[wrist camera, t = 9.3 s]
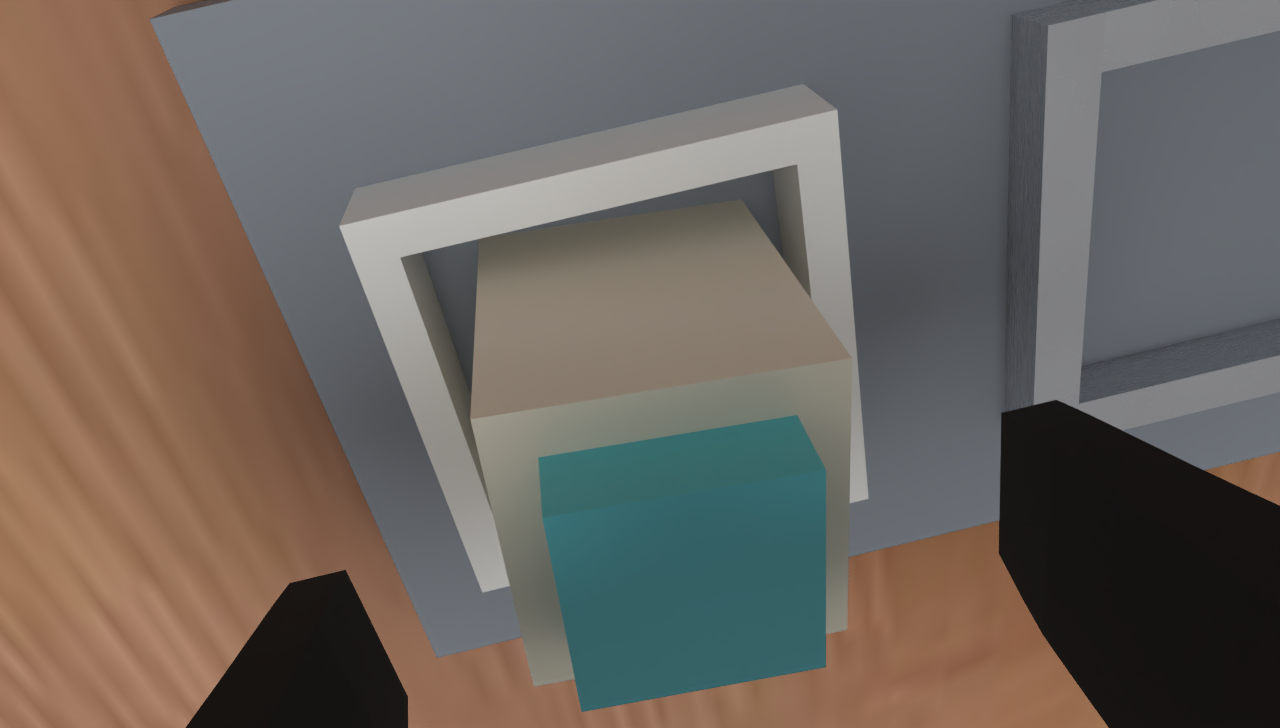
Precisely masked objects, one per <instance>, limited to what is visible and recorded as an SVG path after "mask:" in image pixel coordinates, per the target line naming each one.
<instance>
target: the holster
mask: <svg viewBox="0 0 1280 728" xmlns="http://www.w3.org/2000/svg"><path fill="white" fill-rule="evenodd" d="M1276 31H1280V0H1070V1H1065V2H1061V3H1057V4H1052V5H1048V6H1044V7H1040V8H1035V9H1031V10H1027V11H1022V12H1018V13H1014V14H1011V69H1010V124H1009V180H1008V235H1007V290H1006V346H1005V401H1004V412H1007V411H1011V410H1015V409H1019V408H1024V407H1028V406H1032V405H1036V404H1040V403H1044V402H1049V401H1053V400H1058V401H1060V402H1063V403H1065V404H1067V405H1069V406H1072V407H1074V408H1076V409H1078V410H1081V411H1083V412H1085V413H1087V414H1089V415H1091V416H1093V417H1095V418H1097V419H1100V420H1102V421H1104V422H1106V423H1108V424H1110V425H1112V426H1114V427H1116V428H1118V429H1120V430H1126V429H1130V428H1134V427H1138V426H1142V425H1146V424H1150V423H1154V422H1159V421H1163V420H1167V419H1171V418H1175V417H1179V416H1183V415H1187V414H1191V413H1196V412H1200V411H1204V410H1208V409H1212V408H1216V407H1220V406H1224V405H1228V404H1233V403H1237V402H1241V401H1245V400H1249V399H1253V398H1257V397H1261V396H1265V395H1270V394H1274V393H1278V392H1280V319H1276V320H1272V321H1267V322H1263V323H1259V324H1255V325H1251V326H1247V327H1243V328H1238V329H1234V330H1230V331H1226V332H1222V333H1218V334H1214V335H1209V336H1205V337H1201V338H1197V339H1193V340H1189V341H1185V342H1180V343H1176V344H1172V345H1168V346H1164V347H1160V348H1156V349H1151V350H1147V351H1143V352H1139V353H1135V354H1131V355H1127V356H1122V357H1118V358H1114V359H1110V360H1106V361H1102V362H1098V363H1093V364H1089V365H1085V366H1081V364H1082V350H1083V335H1084V321H1085V306H1086V292H1087V277H1088V263H1089V248H1090V234H1091V219H1092V205H1093V190H1094V176H1095V161H1096V147H1097V132H1098V118H1099V103H1100V89H1101V75H1102V72H1105V71H1110V70H1114V69H1118V68H1122V67H1127V66H1131V65H1135V64H1139V63H1144V62H1148V61H1152V60H1156V59H1161V58H1165V57H1169V56H1173V55H1178V54H1182V53H1186V52H1191V51H1195V50H1199V49H1203V48H1208V47H1212V46H1216V45H1220V44H1225V43H1229V42H1233V41H1237V40H1242V39H1246V38H1250V37H1255V36H1259V35H1263V34H1267V33H1272V32H1276Z"/></svg>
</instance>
